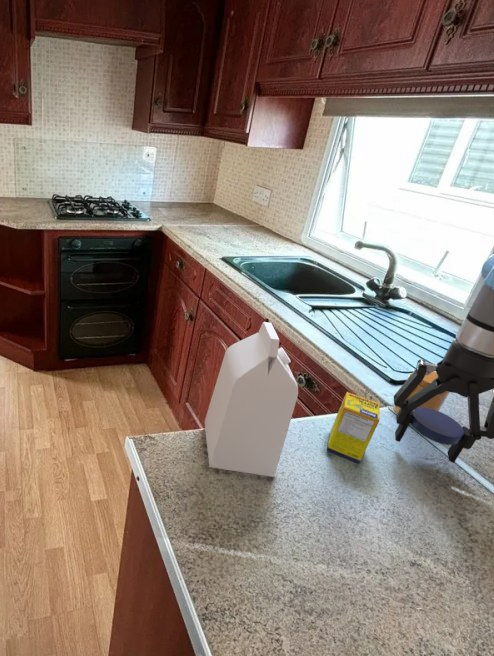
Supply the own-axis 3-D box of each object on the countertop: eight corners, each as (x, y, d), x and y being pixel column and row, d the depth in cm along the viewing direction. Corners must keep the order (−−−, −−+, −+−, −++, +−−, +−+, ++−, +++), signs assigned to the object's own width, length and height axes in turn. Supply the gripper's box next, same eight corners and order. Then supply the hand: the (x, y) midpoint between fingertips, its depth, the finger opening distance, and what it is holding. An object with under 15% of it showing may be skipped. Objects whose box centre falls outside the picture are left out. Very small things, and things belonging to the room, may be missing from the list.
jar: (430, 412, 94) (450, 375, 89) (433, 431, 88) (455, 392, 83) (392, 399, 97) (410, 363, 92) (393, 417, 91) (412, 379, 86)
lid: (468, 437, 75) (472, 429, 74) (447, 451, 71) (452, 443, 70) (421, 410, 81) (425, 403, 81) (400, 421, 77) (404, 413, 77)
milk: (204, 421, 84) (230, 310, 72) (260, 430, 83) (296, 318, 72) (209, 467, 73) (241, 344, 61) (274, 477, 72) (318, 354, 61)
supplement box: (360, 445, 82) (380, 402, 77) (359, 464, 77) (380, 420, 72) (328, 432, 84) (346, 390, 79) (325, 450, 79) (344, 406, 75)
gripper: (554, 359, 67) (486, 459, 77) (408, 320, 76) (364, 414, 86) (571, 381, 61) (494, 486, 71) (410, 335, 70) (362, 434, 80)
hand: (423, 446), depth 78 cm, fingers closed on lid, 8 cm apart
